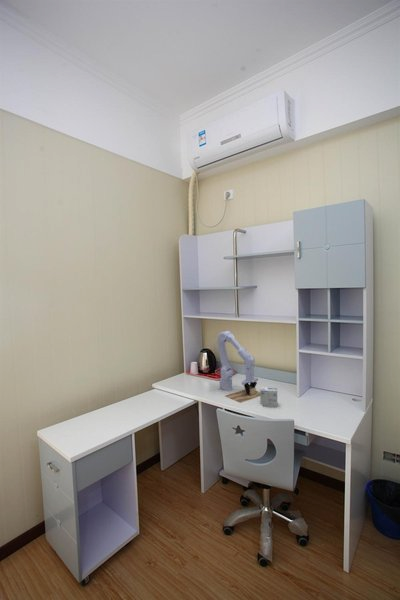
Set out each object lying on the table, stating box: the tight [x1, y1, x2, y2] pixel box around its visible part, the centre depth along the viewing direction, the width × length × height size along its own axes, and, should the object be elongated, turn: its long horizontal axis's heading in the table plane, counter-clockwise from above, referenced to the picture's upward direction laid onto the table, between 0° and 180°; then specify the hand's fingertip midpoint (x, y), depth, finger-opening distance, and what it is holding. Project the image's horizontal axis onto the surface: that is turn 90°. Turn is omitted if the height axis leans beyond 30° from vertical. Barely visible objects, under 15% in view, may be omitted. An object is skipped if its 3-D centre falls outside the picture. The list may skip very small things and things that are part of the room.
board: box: [224, 388, 260, 404], centre depth 212 cm, size 16×24×1 cm, turn 127°
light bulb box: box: [259, 386, 278, 408], centre depth 197 cm, size 11×7×11 cm, turn 74°
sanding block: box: [244, 386, 257, 395], centre depth 215 cm, size 7×4×4 cm, turn 36°
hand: (250, 392), depth 215 cm, fingers closed on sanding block, 4 cm apart
